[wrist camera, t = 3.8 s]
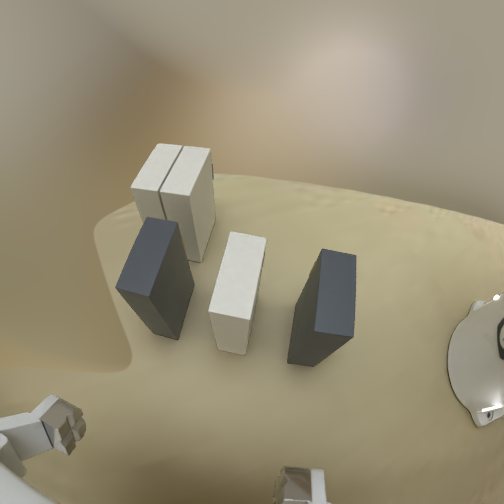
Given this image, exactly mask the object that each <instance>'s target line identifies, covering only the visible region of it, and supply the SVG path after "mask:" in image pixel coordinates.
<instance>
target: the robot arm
mask: <svg viewBox="0 0 504 504" xmlns="http://www.w3.org/2000/svg"><path fill="white" fill-rule="evenodd" d="M448 371H449V377H450V381H451V385H452V388H453V390H454V392H455V394H456V396H457V398H458V399H459V401H460V402H461V403H462V404H463V405H464V406H465V407H466V408H467V409H468V410H469V411H470V412H471V415H472V418H473V420H474V423H475V424H476V426H478V427H481V426H484V425H486V424H488V423H490V422H492V421H494V420H496V419H498V418H500V417H502V416H504V293H503V294H501V295H500V296H498V295H496V296H495V297H494V299H493V300H491V301H489V302H488V303H486V302H483V301H481V300H478V301H476V302H474V303H473V304H472V306H471V309H470V311H469V314H468V316H467V317H466V318H465V319H463V320H462V321H461V322H460V323H459V324H458V326H457V327H456V329H455V331H454V333H453V335H452V338H451V341H450V345H449V350H448ZM82 415H83V413H82V410H81V409H80V408H78V407H76V406H74V405H72V404H70V403H68V402H67V401H65V400H63V399H61V398H59V397H58V396H56V395H54V394H51V395H48V396H47V397H46V398H45V399H44V400H43V401H42V402H41V403H40V404H39V405H38V406H37V407H36V408H35V409H34V410H33V411H32V412H31V413H29V412H26V413H22V414H17V415H12V416H7V417H2V418H0V504H59V503H58V502H56V501H54V500H53V499H51V498H50V497H48V496H47V495H45V494H43V493H42V492H40V491H39V490H37V489H36V488H35V487H33V486H32V485H30V484H29V483H27V482H26V481H25V480H23V479H22V477H23V476H24V475H25V474H26V472H27V471H26V468H25V466H24V465H23V463H22V462H21V461H23V460H25V459H28V458H31V457H33V456H36V455H38V454H41V453H43V452H46V451H48V450H51V449H53V448H55V449H57V450H58V451H60V452H62V453H64V454H66V455H68V456H69V455H70V454H71V452H72V451H73V450H74V448H75V447H76V443H75V442H76V441H79V440H81V439H82V438H83V436H84V434H85V431H86V424H85V421H84V420H83V418H82ZM273 497H274V498H275V499H276V500H275V502H274V504H331V502H327V501H326V489H325V479H324V471H323V469H309V468H298V467H285V466H284V467H282V469H281V473H280V476H278V477H277V480H276V482H275V486H274V492H273Z"/></svg>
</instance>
